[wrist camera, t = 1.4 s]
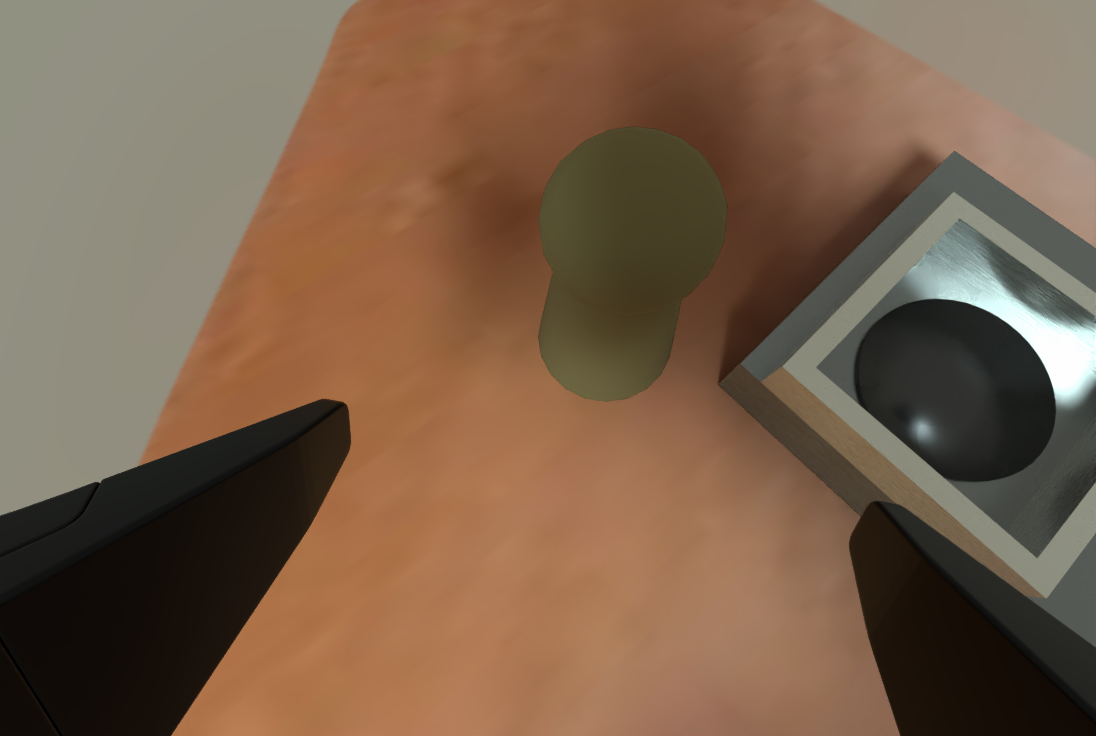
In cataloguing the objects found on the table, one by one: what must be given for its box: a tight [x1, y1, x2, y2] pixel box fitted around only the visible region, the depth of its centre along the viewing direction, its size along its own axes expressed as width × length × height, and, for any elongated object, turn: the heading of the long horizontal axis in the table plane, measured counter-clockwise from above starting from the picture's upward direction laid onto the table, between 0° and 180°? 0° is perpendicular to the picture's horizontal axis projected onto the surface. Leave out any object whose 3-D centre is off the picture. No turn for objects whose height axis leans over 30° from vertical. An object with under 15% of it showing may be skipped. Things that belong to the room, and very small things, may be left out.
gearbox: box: [718, 151, 1096, 647], centre depth 20 cm, size 16×14×5 cm
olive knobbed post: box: [538, 127, 727, 402], centre depth 18 cm, size 6×6×11 cm
